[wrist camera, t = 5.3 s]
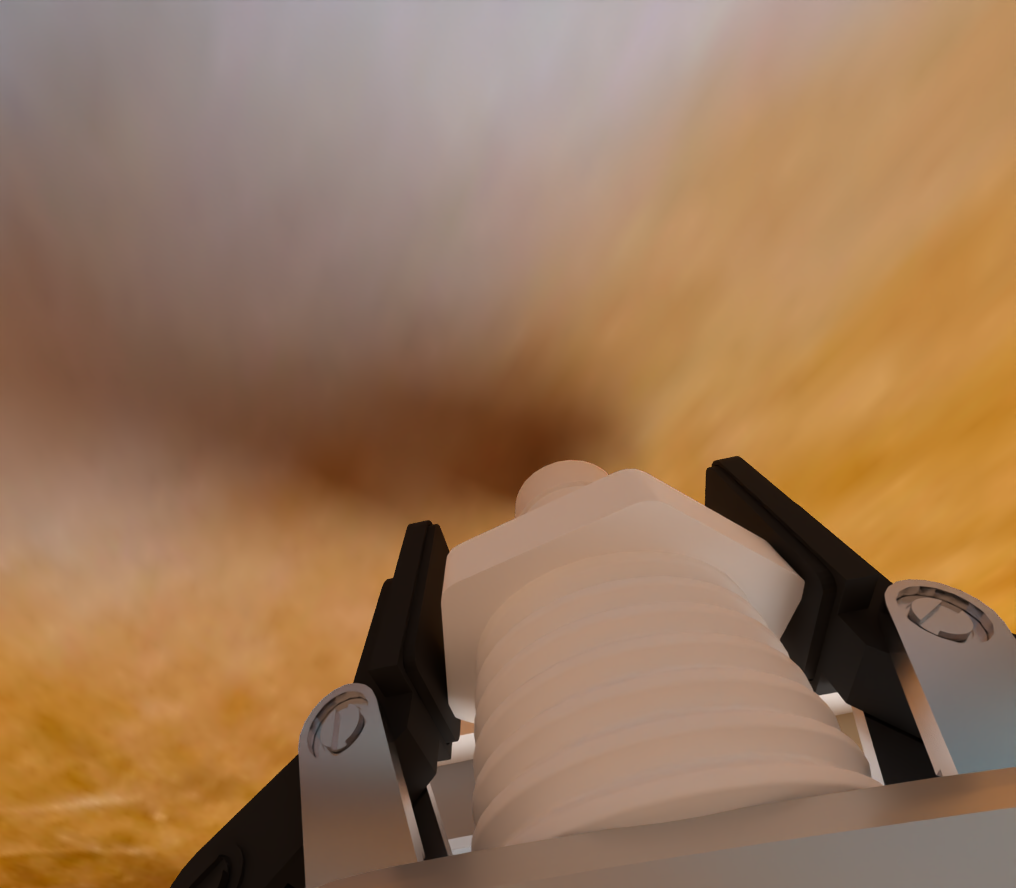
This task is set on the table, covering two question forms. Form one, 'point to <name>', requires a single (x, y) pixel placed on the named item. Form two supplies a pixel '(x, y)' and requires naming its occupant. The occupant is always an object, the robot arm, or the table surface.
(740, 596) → the pipe fitting
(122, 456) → the table surface
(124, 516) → the table surface
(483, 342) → the table surface
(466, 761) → the board
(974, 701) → the robot arm
